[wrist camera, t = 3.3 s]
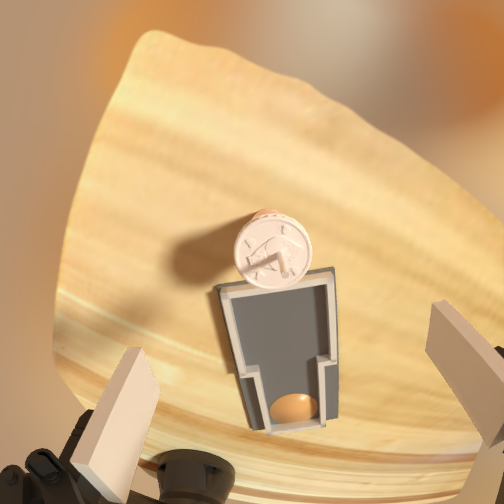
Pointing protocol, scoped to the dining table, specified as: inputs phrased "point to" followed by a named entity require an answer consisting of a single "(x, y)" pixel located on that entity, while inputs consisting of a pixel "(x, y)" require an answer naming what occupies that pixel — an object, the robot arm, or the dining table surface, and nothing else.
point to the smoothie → (272, 251)
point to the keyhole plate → (285, 350)
